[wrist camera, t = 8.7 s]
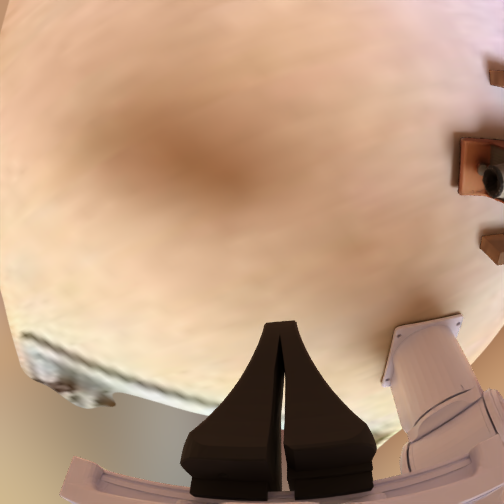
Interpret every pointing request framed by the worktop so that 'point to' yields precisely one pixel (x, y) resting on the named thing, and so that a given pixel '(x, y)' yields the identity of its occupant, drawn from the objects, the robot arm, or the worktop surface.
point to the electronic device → (482, 168)
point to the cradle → (497, 245)
